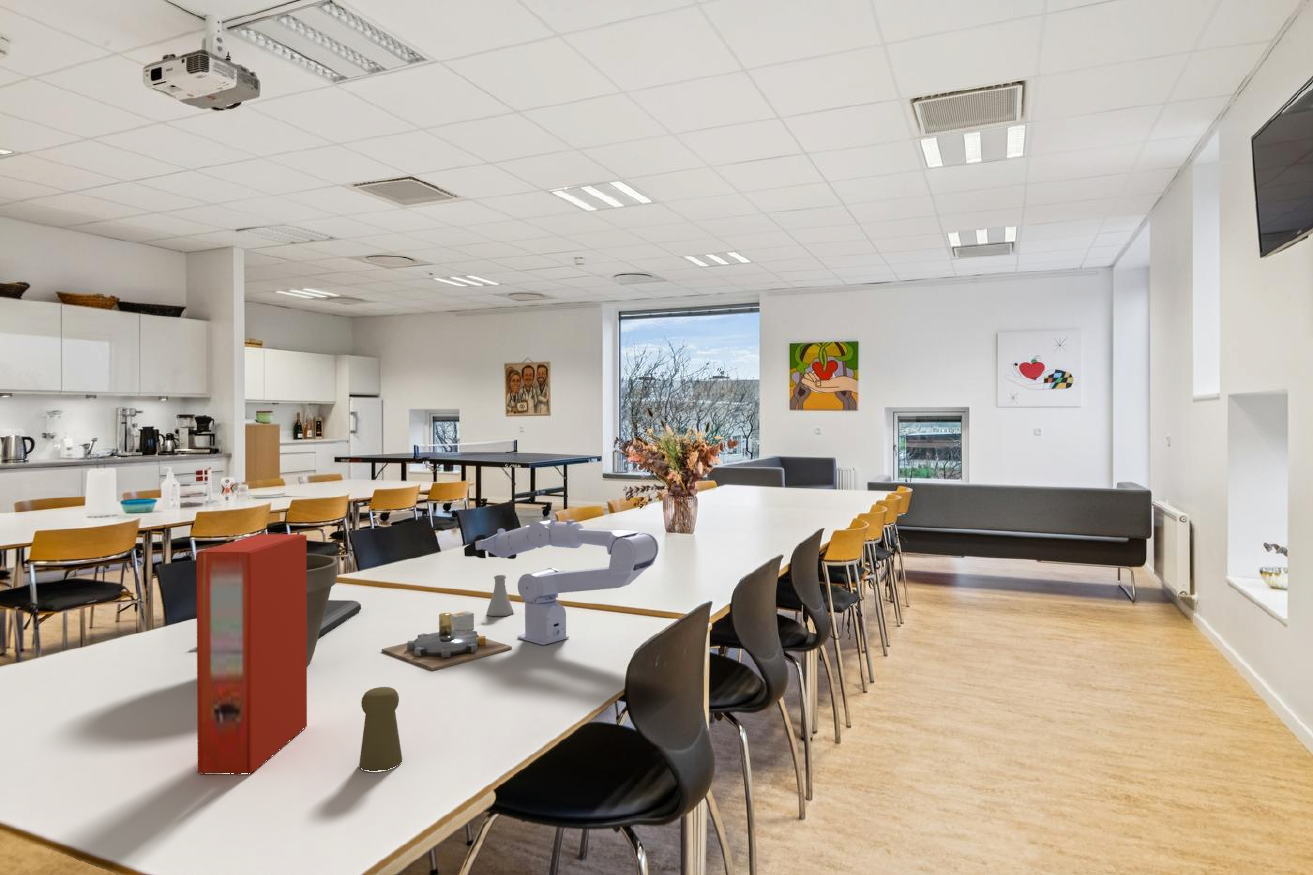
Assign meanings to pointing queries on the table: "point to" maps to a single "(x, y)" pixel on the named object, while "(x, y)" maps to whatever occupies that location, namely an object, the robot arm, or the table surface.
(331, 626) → the closed laptop
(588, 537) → the robot arm
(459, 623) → the grey rectangular block
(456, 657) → the board
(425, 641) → the sprocket
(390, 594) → the table surface
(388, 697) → the olive pawn
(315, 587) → the plant pot
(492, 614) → the flask
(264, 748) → the file binder
